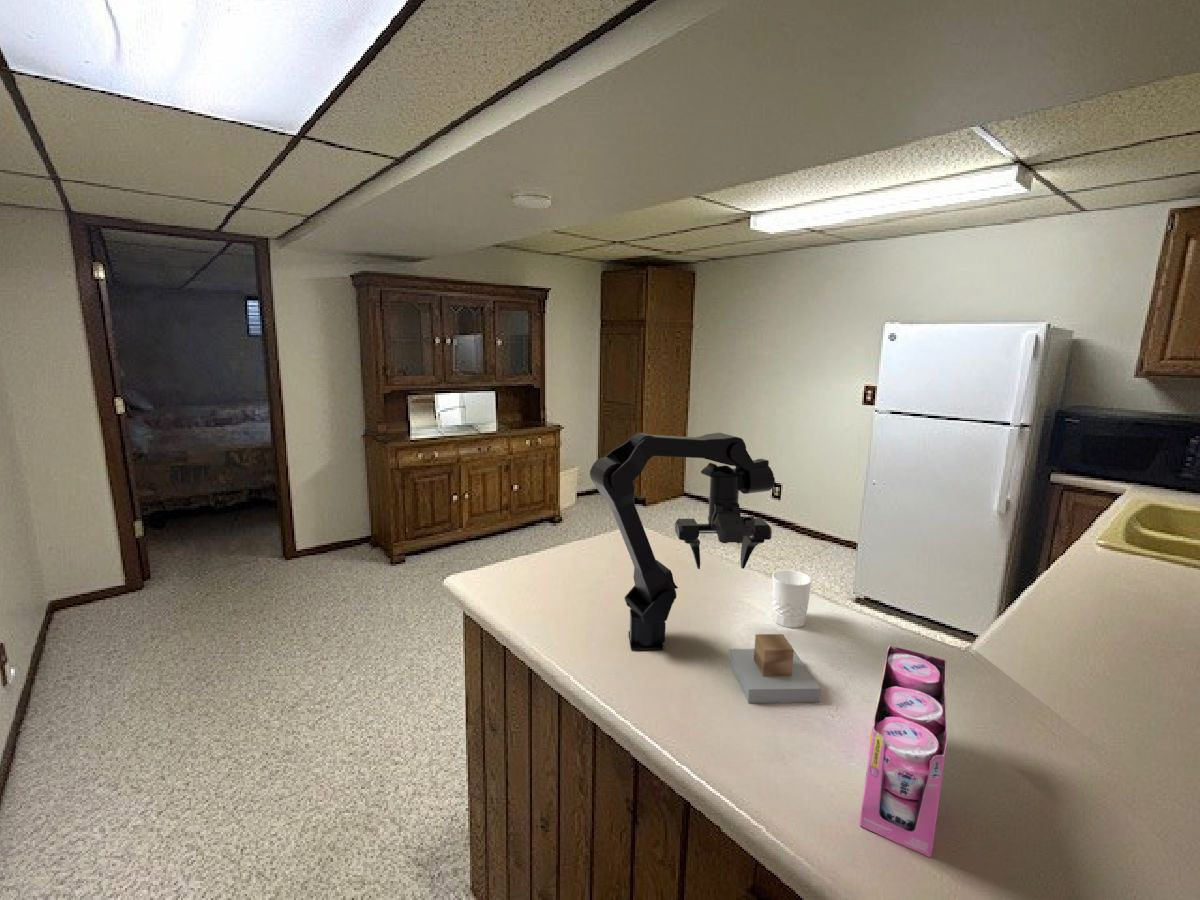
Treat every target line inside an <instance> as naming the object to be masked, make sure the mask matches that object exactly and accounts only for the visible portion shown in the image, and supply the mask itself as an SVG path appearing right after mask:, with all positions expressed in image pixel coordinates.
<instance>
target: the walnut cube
mask: <svg viewBox="0 0 1200 900" xmlns="http://www.w3.org/2000/svg"><path fill="white" fill-rule="evenodd" d="M754 636H755V638H754V639H755V640H754V649H755V650H754V661H755V663H756V665H757V666H758V668H759V670H760V672H761V674H762V676H792V666H793V653H794V650H795V649H794V647H792V645H791V643H790V642H789V640H788V639H787V637H786V636H785V635H784V634H783V633H774V634H773V633H770V634H769V633H766V634H765V633H761V634H760V633H758V634H755V635H754Z"/></svg>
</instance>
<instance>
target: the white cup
mask: <svg viewBox="0 0 1200 900" xmlns="http://www.w3.org/2000/svg"><path fill="white" fill-rule="evenodd" d="M771 576H772V578H771V579H772V580H771V581H772V583H771V609H772V610H771V611H772V612H771V613H772V614H771V615H772V616H771V617H772V620H773V622H774V623H776V624H777V625H780V626H782V627H785V628H790V629H793V628H794V629H796V628H797V629H798V628H801V627H803V626H805V624H806V622H807V621H806V619H807V612H808V609H809V603H810V602H809V601H810V593H811V589H812V588H811V587H812V578H811V577H810V576H809V575H807V574H806V573H804V572H801V571H797V570H793V569H779V570H776V571H774V572H773V573H772V575H771Z"/></svg>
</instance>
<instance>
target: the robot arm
mask: <svg viewBox="0 0 1200 900" xmlns="http://www.w3.org/2000/svg"><path fill="white" fill-rule="evenodd" d="M652 457H667V458H668V457H669V458H670V457H673V458H693V459H694V458H695V459H704V460H708V461H713V462H715V463H719V464H724V465H717V464H715V463H712V462H709V463H708V464H707V465H706V466H705V467H704V468H703V469H701V471H700V473H701V475H704V476H707V477H709V478H710V479H709V496H708V505H709V506H708V515H707V521H708V523H698V522H697V521H696V520H695V518H678V519H676V521H675V522H674V531H675V534H676V536H677V539H678V540H681V541H683V542H684V543H685V544H689V545H690V549H691V552H692V555H693V558H694V562H695V566H696V568H697V569H698V570H700V569H701V554H700V553H701V552H700V545H701V540H700V539H699V537H700V534H716V535H717V538H718V541H719V542H720V543H722V544H729V543H731V544H732V543H735V544H741V546H740V547H741V548H740V549H741V550H740V567H741V569H743V570H744V569H745V568H746V565H747V563H748V561H749V559H750V558H751V555H752V553H753V551H754V550H755V548H756V546H758V545H760V544H764V543H765V540H766V541H767V540H768V541H769V540H772V537H773V536H772V533H773V532H772V531H773V530H772V526H770V525H769V523H767V522H766V521H765V520H764V519H763V518H762V517H761V518H760V517H759V518H756V517H755V518H754V516H744V515H743V516H742V515H741V512H740V511H741V508H740V504H739V497H740V496H739V495H740V494H739V493H741V494H743V495H747V494H755V493H765V492H769V491H771V490H772V489H773V488H774V486H775V483H776V480H775V479H776V478H775V476H774V473H773V470H772V468H771V467H770V466H769V464H770V463H769V462H770V461H769V460H768V459H765V458H757V459H754V460H753V459H752V457H751V456H750V454H749V452H748V450H747V445H746V442H745V441H744V439H743V438H742V437H739V436H735V435H730V434H728V433H727V434H726V433H723V432H715V433H713V432H712V433H709V434H708V433H707V434H703V435H701V436H694V437H693V436H679V435H666V434H665V435H664V434H663V435H661V434H650V433H649V434H647V433H645V432H637V433H635V434H633V435H632V436H630V438H629V439H627V441H625V442H623V443H622V444H621V445H618V446H617V447H616V448H613V449H612V450H610V451H609V452H608V453H607V454H606V455H605V456H604V457H601V458H598V459H597V460H595V461H594V462H593V464H592V466H591V468H590V471H589V477H590V480H591V482H592V483H593V484H594V486H595V488H596V490H597V491H598V492H599V494H600V495H601V496H602V497H603V498H602V499H604V500H605V501H606V503H607V504H608V506H609V508H610V509H611V512H612V513H613V517H614V519H615V521H616V524H617V526H618V528H619V532H620V534H621V537H622V539H623V541H624V544H625V547H626V549H627V551H628V553H629V556H630V557H629V558H630V559H631V562H632V565H633V569H634V570H633V581H634V586H633V587H632V588H631V589H630V590H629V591H628V593H626V595H625V596H624V601H625V605H626V606H627V607H629V630H628V632H627V634H628V639H629V648H630V650H631V651H660V650H664V649H665V645H664V643H665V642H666V628H667V627H666V624H667V623H666V621H667V620H668V617H669V615H670V612H671V610H672V607H673V604H674V603H675V600H676V599H677V590H676V589H678V588H679V587H678V586H677V585H676V583H675V580H674V576H673V572H672V571H671V569H670V568H668V567H667V566H666V565H664V564H663V563H662V562H661V561H659V560H658V559H656V557H655V555H654V552H653V549H652V546H651V544H650V541H649V539H648V536H647V533H646V531H645V528H644V526H643V523H642V520H641V517H640V516H639V512H638V510H637V507H636V504H635V491H636V489H635V482H634V480H635V479H636V478H637V477H638V476H640V475H641V473H642V472H643V470H644V469H645V467H646V466H647V463H648V462H649V460H650V459H651V458H652ZM732 467H735V468H732Z"/></svg>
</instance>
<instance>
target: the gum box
mask: <svg viewBox="0 0 1200 900" xmlns="http://www.w3.org/2000/svg"><path fill="white" fill-rule="evenodd" d="M947 662H948V661H947V660H946V659H942V658H939V657H935V656H932V655H929V654H925V653H923V652H922V653H921V652H917V651H913V650H910V649H907V648H903V647H899V646H895V645H889V646H888V647H887V650H886V655H885V660H884V664H883V670H882V676H881V681H880V686H879V690H878V695H877V700H876V706H875V711H874V716H873V720H872V726H871V731H870V740H869V748H868V749H869V750H868V758H867V766H866V772H865V782H864V787H863V788H864V789H863V797H862V804H861V811H860V819H859V826H860V827H862V828H863V829H866V830H868V831H871V832H872V833H873V832H874V833H876V834H878V835H880V836H881V837H884V838H885V839H888V840H890V841H893V842H894V843H896V844H899V845H901V846H904V847H905V848H908V849H911V850H913V851H915V852H917V853H920V854H922V855H924V856H927V857H928V858H931V857H932V852H933V846H934V842H935V841H934V840H935V834H936V826H937V825H936V824H937V819H938V812H939V805H940V804H939V802H940V795H941V790H942V781H943V775H944V770H945V769H944V768H945V760H946V752H947V745H948V728H947V726H948V725H947V723H948V722H947V687H946V686H947V681H946V680H947Z"/></svg>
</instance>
